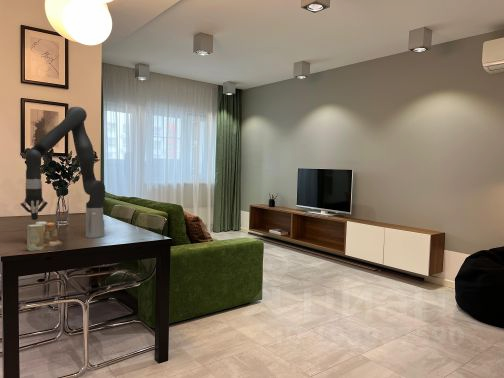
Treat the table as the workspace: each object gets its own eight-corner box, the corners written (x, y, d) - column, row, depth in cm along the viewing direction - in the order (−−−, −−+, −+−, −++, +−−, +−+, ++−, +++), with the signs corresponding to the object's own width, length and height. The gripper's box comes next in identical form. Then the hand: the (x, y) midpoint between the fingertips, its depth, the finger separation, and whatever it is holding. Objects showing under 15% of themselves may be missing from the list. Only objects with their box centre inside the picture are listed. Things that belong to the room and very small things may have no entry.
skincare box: (29, 251, 179) (29, 226, 179) (26, 249, 182) (26, 225, 182) (44, 249, 184) (44, 225, 183) (40, 247, 187) (40, 223, 186)
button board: (52, 239, 208) (52, 226, 208) (62, 244, 196) (62, 231, 195) (26, 241, 199) (26, 228, 199) (34, 247, 187) (34, 234, 186)
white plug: (45, 234, 196) (45, 221, 195) (47, 236, 192) (47, 222, 192) (34, 235, 192) (34, 221, 192) (37, 237, 189) (37, 223, 188)
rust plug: (53, 235, 202) (52, 222, 202) (55, 236, 199) (55, 223, 198) (43, 236, 199) (43, 222, 199) (45, 237, 196) (45, 224, 195)
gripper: (45, 186, 204) (46, 217, 205) (17, 187, 195) (18, 220, 197) (49, 187, 199) (50, 219, 200) (21, 188, 190) (21, 222, 191)
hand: (34, 219), depth 198 cm, fingers closed
